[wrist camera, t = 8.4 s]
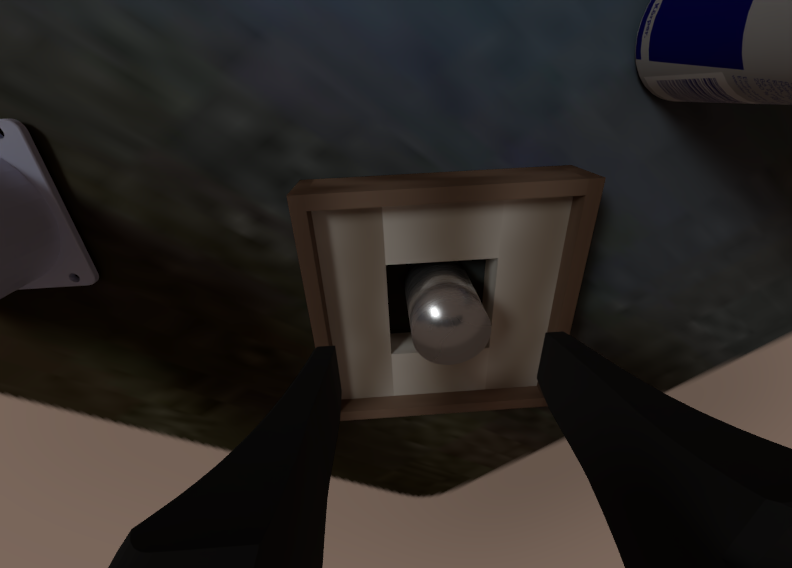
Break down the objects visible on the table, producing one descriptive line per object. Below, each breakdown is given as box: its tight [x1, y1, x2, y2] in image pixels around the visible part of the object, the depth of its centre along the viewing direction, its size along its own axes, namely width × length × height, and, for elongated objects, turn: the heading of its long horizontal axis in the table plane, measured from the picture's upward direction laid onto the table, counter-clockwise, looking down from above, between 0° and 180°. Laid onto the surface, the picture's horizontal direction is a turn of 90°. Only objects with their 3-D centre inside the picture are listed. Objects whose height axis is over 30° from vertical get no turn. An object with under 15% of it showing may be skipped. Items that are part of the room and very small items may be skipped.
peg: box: [404, 261, 491, 365], centre depth 18 cm, size 4×4×5 cm
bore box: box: [287, 165, 605, 421], centre depth 19 cm, size 13×13×3 cm
